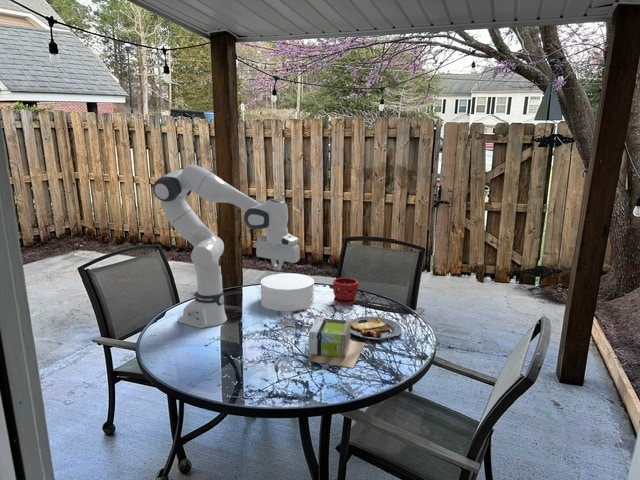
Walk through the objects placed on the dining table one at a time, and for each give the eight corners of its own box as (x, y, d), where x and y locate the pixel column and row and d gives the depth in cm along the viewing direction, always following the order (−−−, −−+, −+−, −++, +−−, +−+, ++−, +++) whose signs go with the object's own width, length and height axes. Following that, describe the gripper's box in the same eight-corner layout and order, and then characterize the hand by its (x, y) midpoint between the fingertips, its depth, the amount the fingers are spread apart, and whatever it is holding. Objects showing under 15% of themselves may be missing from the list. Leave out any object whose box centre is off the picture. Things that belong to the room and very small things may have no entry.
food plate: (360, 346, 182) (361, 338, 181) (336, 325, 203) (336, 318, 202) (411, 337, 192) (411, 330, 191) (383, 319, 213) (383, 312, 212)
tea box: (308, 355, 173) (345, 358, 170) (308, 331, 171) (345, 334, 168) (316, 339, 188) (350, 342, 185) (316, 316, 186) (351, 319, 183)
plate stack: (319, 295, 243) (319, 275, 241) (306, 313, 216) (306, 291, 214) (271, 291, 249) (271, 271, 247) (252, 308, 223) (252, 286, 220)
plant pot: (358, 306, 226) (359, 284, 223) (332, 306, 226) (333, 284, 224) (356, 298, 239) (357, 277, 236) (332, 297, 239) (332, 276, 236)
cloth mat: (307, 360, 169) (307, 360, 169) (324, 337, 190) (324, 336, 190) (352, 368, 164) (352, 367, 164) (365, 343, 184) (365, 342, 184)
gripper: (252, 236, 186) (253, 267, 189) (293, 242, 176) (293, 275, 179) (261, 233, 191) (261, 264, 194) (302, 239, 182) (301, 271, 185)
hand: (277, 269), depth 187 cm, fingers closed
